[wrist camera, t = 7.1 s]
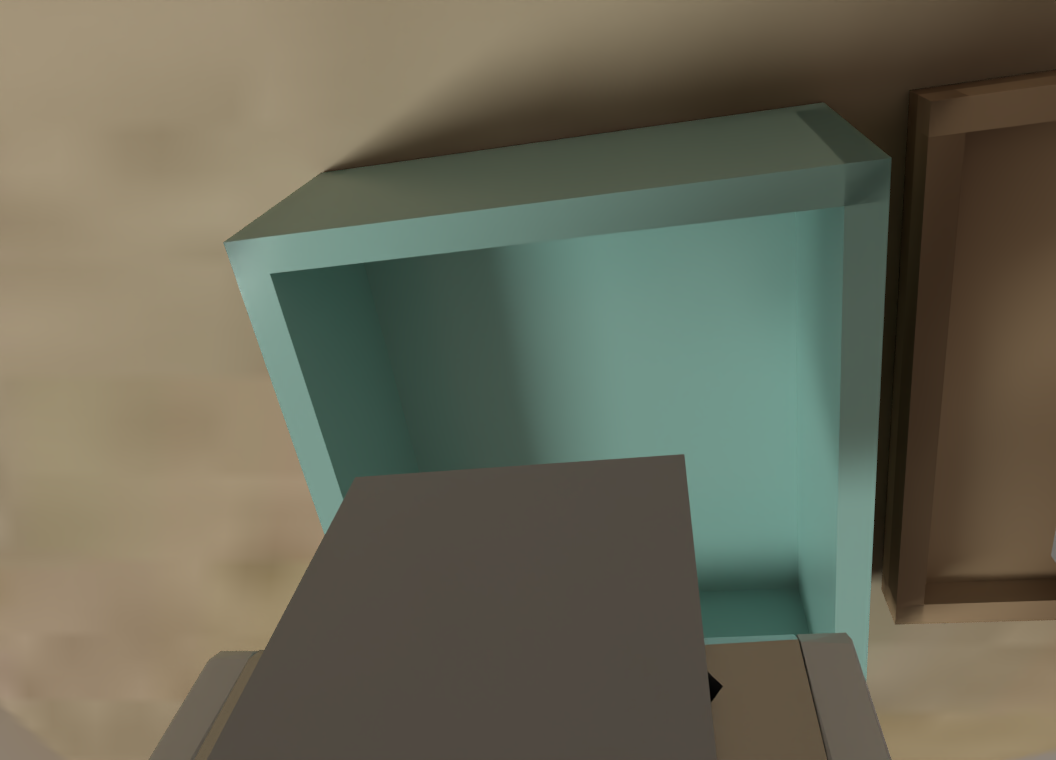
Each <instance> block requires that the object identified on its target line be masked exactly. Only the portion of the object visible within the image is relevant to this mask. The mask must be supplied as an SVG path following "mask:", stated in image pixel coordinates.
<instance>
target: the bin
mask: <svg viewBox="0 0 1056 760" xmlns="http://www.w3.org/2000/svg"><path fill="white" fill-rule="evenodd" d="M890 179H891V157H890V156H889V155H887V154H886V153H885V152H884V151H882V150H881V149H880V148H879V147H878V146H876V145H875V144H874V143H873V142H871V141H870V140H869V139H868V138H867V137H865V136H864V135H863V134H862V133H860V132H859V131H858V130H857V129H856V128H854V127H853V126H852V125H851V124H850V123H848V122H847V121H846V120H845V119H843V118H842V117H841V116H840V115H839V114H837V113H836V112H835V111H834V110H832V109H831V108H830V107H829V106H828V105H826V104H825V103H824V102H823V103H815V104H808V105H801V106H794V107H787V108H780V109H773V110H765V111H758V112H751V113H744V114H737V115H730V116H723V117H716V118H708V119H701V120H694V121H687V122H680V123H673V124H666V125H658V126H651V127H644V128H637V129H630V130H623V131H616V132H608V133H601V134H594V135H587V136H580V137H573V138H566V139H559V140H551V141H544V142H537V143H530V144H523V145H516V146H509V147H501V148H494V149H487V150H480V151H473V152H466V153H459V154H452V155H444V156H437V157H430V158H423V159H416V160H409V161H402V162H394V163H387V164H380V165H373V166H366V167H359V168H352V169H345V170H337V171H330V172H323V173H320V174H319V175H317V176H316V177H314V178H313V179H312V180H310V181H309V182H307V183H306V184H305V185H303V186H302V187H300V188H299V189H298V190H296V191H295V192H293V193H292V194H291V195H289V196H288V197H286V198H285V199H284V200H282V201H281V202H279V203H278V204H277V205H275V206H274V207H272V208H271V209H270V210H268V211H267V212H265V213H264V214H263V215H261V216H260V217H258V218H257V219H256V220H254V221H253V222H251V223H250V224H249V225H247V226H246V227H244V228H243V229H242V230H240V231H239V232H237V233H236V234H235V235H233V236H232V237H230V238H229V239H228V240H226V241H225V242H223V243H224V245H225V248H226V251H227V254H228V257H229V260H230V263H231V266H232V269H233V271H234V274H235V277H236V280H237V283H238V286H239V289H240V292H241V295H242V297H243V300H244V303H245V306H246V309H247V312H248V315H249V318H250V320H251V323H252V326H253V329H254V332H255V335H256V338H257V341H258V344H259V346H260V349H261V352H262V355H263V358H264V361H265V364H266V367H267V370H268V372H269V375H270V378H271V381H272V384H273V387H274V390H275V393H276V395H277V398H278V401H279V404H280V407H281V410H282V413H283V416H284V419H285V421H286V424H287V427H288V430H289V433H290V436H291V439H292V442H293V444H294V447H295V450H296V453H297V456H298V459H299V462H300V465H301V468H302V470H303V473H304V476H305V479H306V482H307V485H308V488H309V491H310V494H311V496H312V499H313V502H314V505H315V508H316V511H317V514H318V517H319V519H320V522H321V525H322V528H323V531H324V534H326V532H327V530H328V528H329V526H330V524H331V522H332V520H333V519H334V517H335V515H336V513H337V511H338V509H339V507H340V505H341V503H342V501H343V500H344V498H345V496H346V494H347V492H348V490H349V488H350V486H351V484H352V482H353V481H354V479H355V477H364V476H378V475H392V474H407V473H421V472H435V471H450V470H464V469H478V468H493V467H507V466H521V465H535V464H550V463H564V462H578V461H593V460H607V459H621V458H636V457H650V456H664V455H678V454H684V456H685V465H686V475H687V484H688V493H689V503H690V512H691V522H692V531H693V540H694V550H695V559H696V568H697V578H698V587H699V597H700V606H701V615H702V625H703V634H704V638H717V637H742V636H766V635H791V634H794V635H795V636H797V634H819V633H845V632H846V633H847V634H848V636H849V637H850V638H851V639H852V641H853V644H854V647H855V650H856V653H857V656H858V659H859V662H860V665H861V668H862V671H863V674H864V677H865V680H866V675H867V655H868V634H869V613H870V593H871V572H872V551H873V531H874V510H875V489H876V469H877V448H878V427H879V406H880V386H881V365H882V344H883V324H884V303H885V282H886V262H887V241H888V220H889V200H890Z"/></svg>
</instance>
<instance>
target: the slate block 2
mask: <svg viewBox="0 0 1056 760" xmlns="http://www.w3.org/2000/svg"><path fill="white" fill-rule="evenodd" d="M1051 556H1052V558H1053V559H1054V561H1055V562H1056V530H1055V536H1054V542H1053V547H1052V553H1051Z"/></svg>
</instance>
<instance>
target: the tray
mask: <svg viewBox="0 0 1056 760" xmlns="http://www.w3.org/2000/svg"><path fill="white" fill-rule="evenodd" d="M1055 530H1056V70H1051V71H1044V72H1037V73H1029V74H1022V75H1015V76H1008V77H1001V78H994V79H987V80H980V81H972V82H965V83H958V84H951V85H944V86H937V87H930V88H922V89H915V90H910V94H909V111H908V129H907V147H906V165H905V182H904V200H903V218H902V235H901V253H900V271H899V288H898V306H897V324H896V342H895V359H894V377H893V395H892V412H891V430H890V448H889V465H888V483H887V501H886V519H885V536H884V554H883V572H882V592H883V594H884V597H885V599H886V602H887V605H888V607H889V610H890V612H891V615H892V618H893V620H894V623H895V624H928V623H963V622H998V621H1034V620H1056V562H1055V561H1054V559H1053V558H1052V556H1051V553H1052V547H1053V542H1054V536H1055Z"/></svg>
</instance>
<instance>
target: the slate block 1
mask: <svg viewBox="0 0 1056 760" xmlns="http://www.w3.org/2000/svg"><path fill="white" fill-rule="evenodd" d="M207 760H717V756H716V747H715V737H714V728H713V718H712V709H711V700H710V690H709V681H708V672H707V662H706V653H705V643H704V634H703V625H702V615H701V606H700V597H699V587H698V578H697V568H696V559H695V550H694V540H693V531H692V522H691V512H690V503H689V493H688V484H687V475H686V465H685V456H684V454H678V455H664V456H650V457H636V458H621V459H607V460H593V461H578V462H564V463H550V464H535V465H521V466H507V467H493V468H478V469H464V470H450V471H435V472H421V473H407V474H392V475H378V476H364V477H355V479H354V481H353V482H352V484H351V486H350V488H349V490H348V492H347V494H346V496H345V498H344V500H343V501H342V503H341V505H340V507H339V509H338V511H337V513H336V515H335V517H334V519H333V520H332V522H331V524H330V526H329V528H328V530H327V532H326V534H325V536H324V538H323V540H322V541H321V543H320V545H319V547H318V549H317V551H316V553H315V555H314V557H313V559H312V560H311V562H310V564H309V566H308V568H307V570H306V572H305V574H304V576H303V578H302V579H301V581H300V583H299V585H298V587H297V589H296V591H295V593H294V595H293V597H292V599H291V600H290V602H289V604H288V606H287V608H286V610H285V612H284V614H283V616H282V618H281V619H280V621H279V623H278V625H277V627H276V629H275V631H274V633H273V635H272V637H271V638H270V640H269V642H268V644H267V646H266V648H265V650H264V652H263V654H262V656H261V658H260V659H259V661H258V663H257V665H256V667H255V669H254V671H253V673H252V675H251V677H250V678H249V680H248V682H247V684H246V686H245V688H244V690H243V692H242V694H241V696H240V697H239V699H238V701H237V703H236V705H235V707H234V709H233V711H232V713H231V715H230V717H229V718H228V720H227V722H226V724H225V726H224V728H223V730H222V732H221V734H220V736H219V737H218V739H217V741H216V743H215V745H214V747H213V749H212V751H211V753H210V755H209V756H208V758H207Z"/></svg>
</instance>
